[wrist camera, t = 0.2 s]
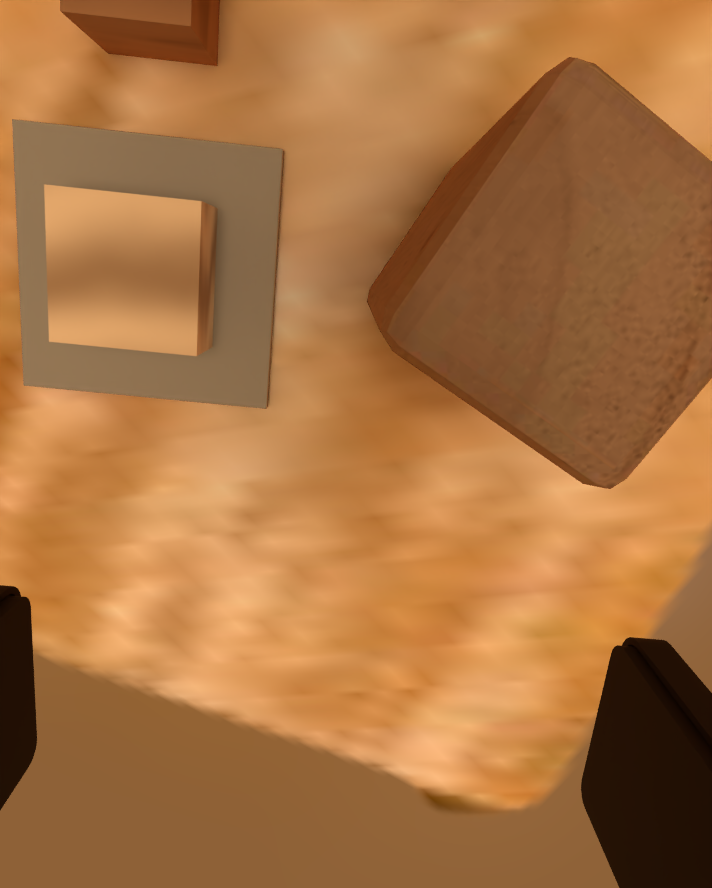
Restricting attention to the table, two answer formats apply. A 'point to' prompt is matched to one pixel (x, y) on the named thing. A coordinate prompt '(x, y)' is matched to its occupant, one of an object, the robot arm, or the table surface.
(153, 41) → the walnut cube
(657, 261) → the wooden block
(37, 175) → the grey flat square
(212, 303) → the birch base brick
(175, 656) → the table surface
